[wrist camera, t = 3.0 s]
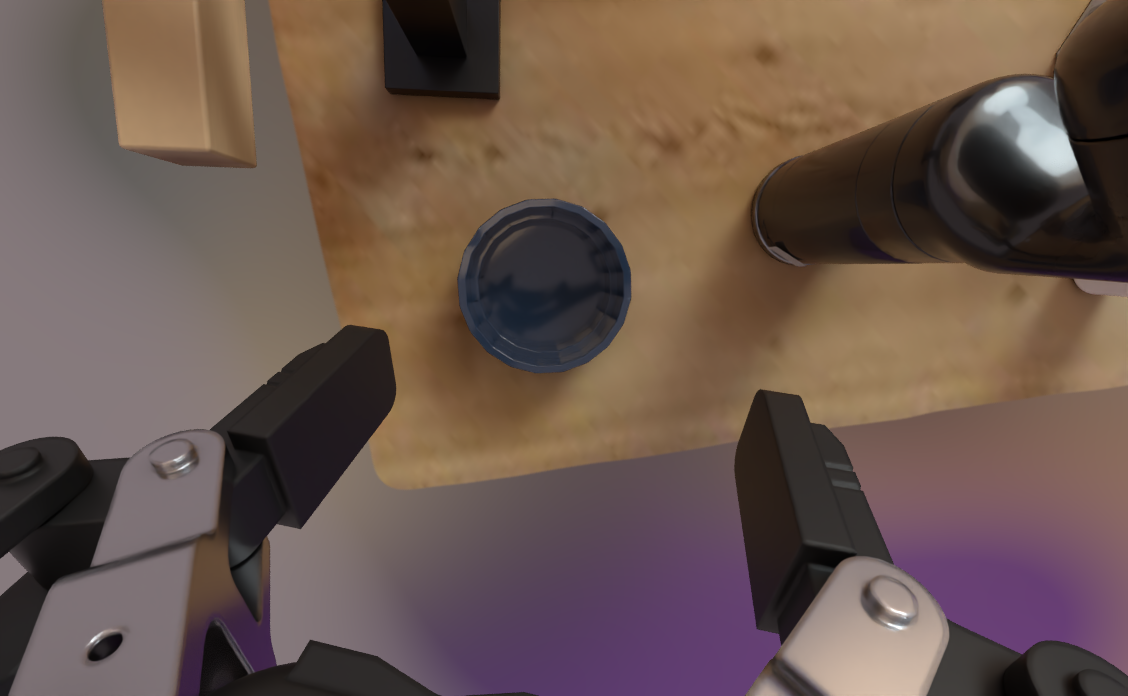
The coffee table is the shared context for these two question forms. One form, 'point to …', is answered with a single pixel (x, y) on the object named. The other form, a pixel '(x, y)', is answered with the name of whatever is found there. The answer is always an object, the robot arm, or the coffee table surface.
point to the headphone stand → (442, 48)
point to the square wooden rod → (182, 80)
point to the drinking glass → (1103, 287)
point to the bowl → (544, 285)
